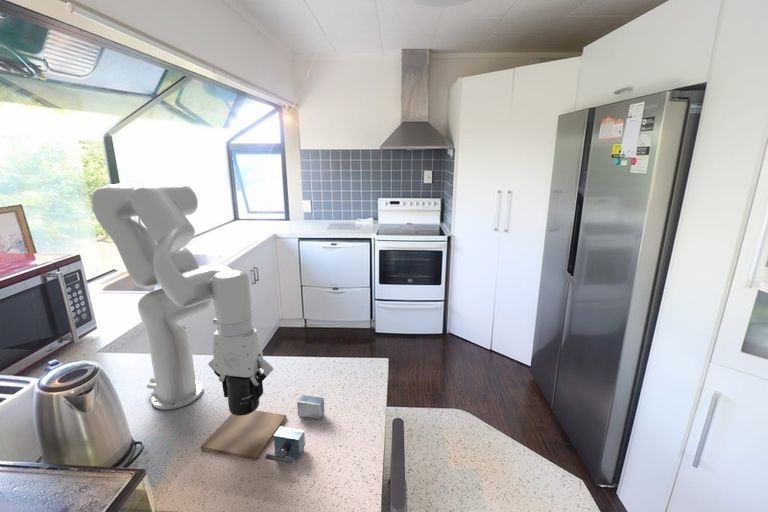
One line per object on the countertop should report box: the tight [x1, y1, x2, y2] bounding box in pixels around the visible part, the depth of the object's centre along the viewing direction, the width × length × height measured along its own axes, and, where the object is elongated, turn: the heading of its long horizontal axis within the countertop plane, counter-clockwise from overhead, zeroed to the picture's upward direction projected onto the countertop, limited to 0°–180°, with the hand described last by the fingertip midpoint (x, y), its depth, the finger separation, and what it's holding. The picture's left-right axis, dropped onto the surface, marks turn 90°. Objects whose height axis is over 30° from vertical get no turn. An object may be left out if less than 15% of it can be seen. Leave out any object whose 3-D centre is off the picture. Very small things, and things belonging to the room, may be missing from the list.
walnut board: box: [200, 409, 287, 462], centre depth 88 cm, size 14×14×1 cm
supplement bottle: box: [226, 374, 260, 416], centre depth 84 cm, size 7×7×12 cm
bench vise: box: [264, 394, 325, 465], centre depth 86 cm, size 6×19×5 cm, turn 168°
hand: (243, 395), depth 85 cm, fingers closed on supplement bottle, 6 cm apart
